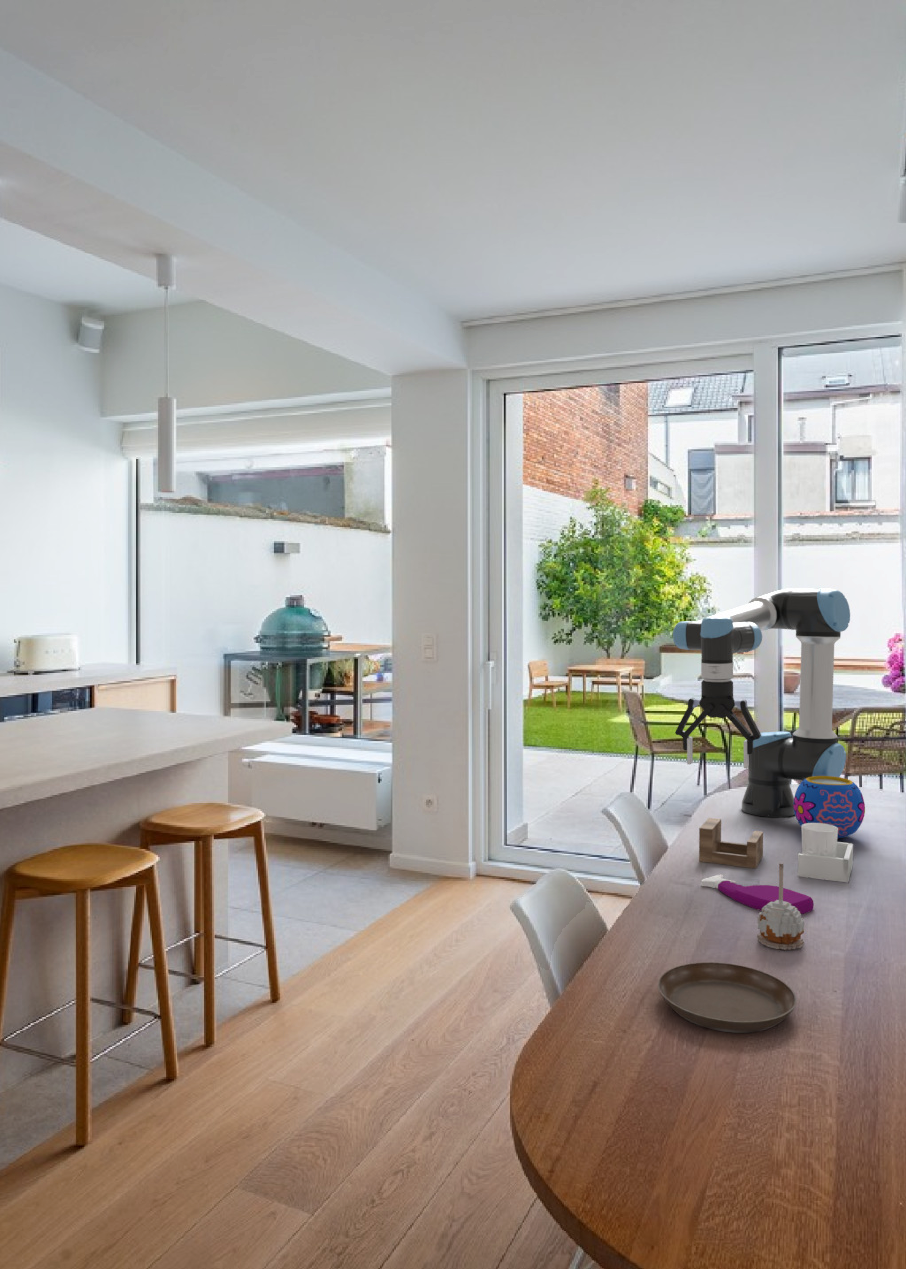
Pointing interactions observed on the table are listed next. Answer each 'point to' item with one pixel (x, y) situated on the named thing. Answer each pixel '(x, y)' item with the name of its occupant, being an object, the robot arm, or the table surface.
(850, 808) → the ceramic pot
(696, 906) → the table surface
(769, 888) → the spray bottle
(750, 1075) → the table surface
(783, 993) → the plant saucer
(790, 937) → the candy apple
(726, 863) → the wooden cradle stand
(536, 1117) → the table surface
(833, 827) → the white cup
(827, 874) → the box
